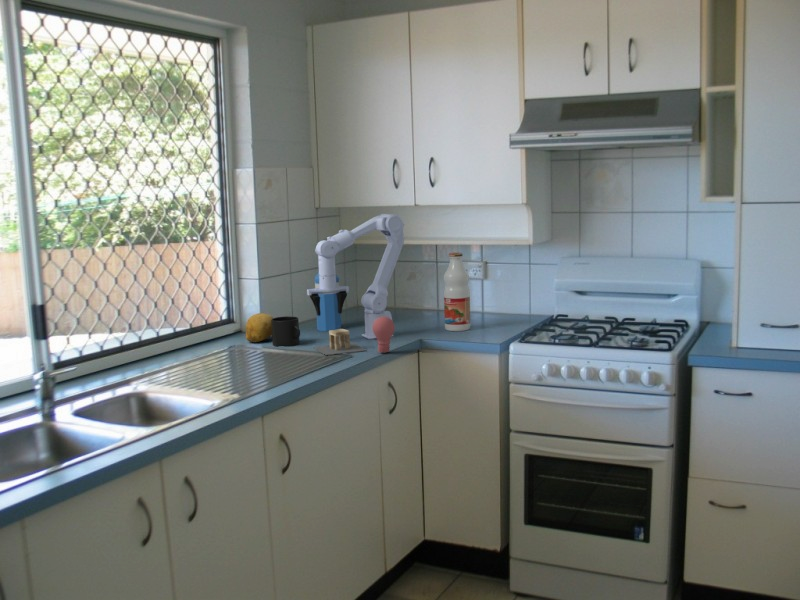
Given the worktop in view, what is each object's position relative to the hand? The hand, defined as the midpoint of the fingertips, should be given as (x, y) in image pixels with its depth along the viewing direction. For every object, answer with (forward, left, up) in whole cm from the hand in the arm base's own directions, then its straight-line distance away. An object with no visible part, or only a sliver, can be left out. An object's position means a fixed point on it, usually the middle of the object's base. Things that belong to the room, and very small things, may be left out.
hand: (329, 314), depth 296 cm
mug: (+14, -4, -10) cm, 18 cm away
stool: (+1, +14, -10) cm, 17 cm away
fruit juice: (-48, +2, -10) cm, 49 cm away
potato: (+21, -16, -10) cm, 28 cm away
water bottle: (-7, -25, -10) cm, 28 cm away
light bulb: (-10, +27, -10) cm, 31 cm away
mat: (+1, +14, -10) cm, 17 cm away
